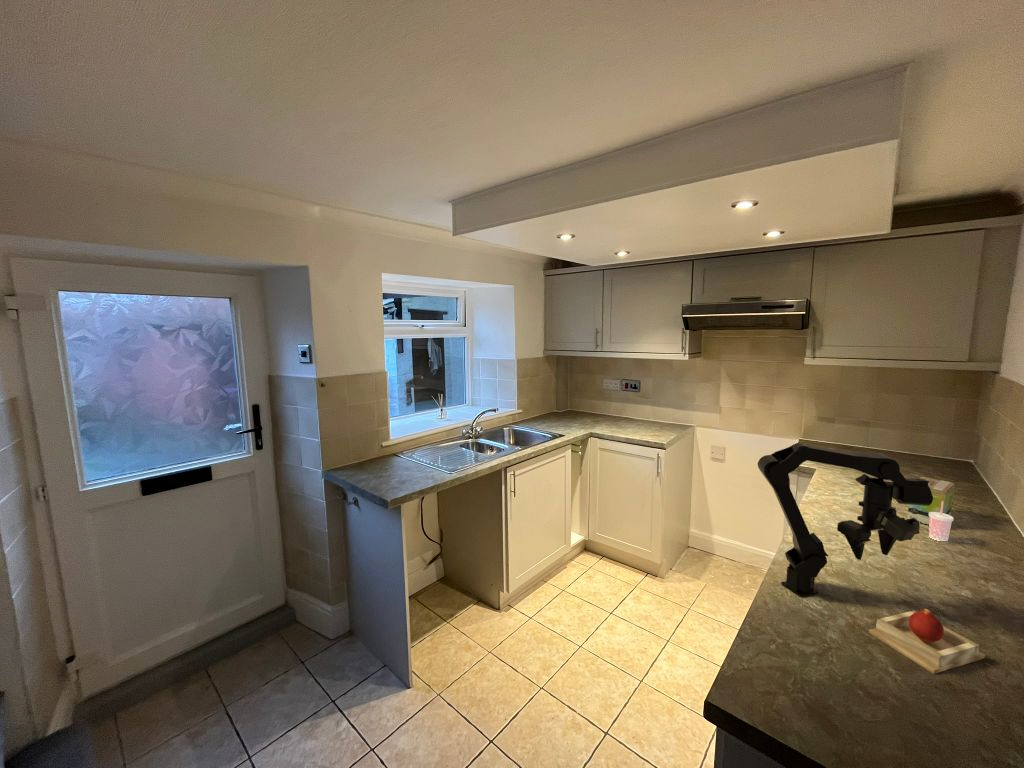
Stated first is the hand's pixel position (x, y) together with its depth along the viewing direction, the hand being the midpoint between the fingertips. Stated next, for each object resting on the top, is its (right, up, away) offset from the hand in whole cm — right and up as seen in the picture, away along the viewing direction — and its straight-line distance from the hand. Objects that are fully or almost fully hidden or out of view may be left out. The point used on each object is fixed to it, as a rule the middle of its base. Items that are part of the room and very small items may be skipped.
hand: (871, 556), depth 115 cm
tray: (-1, -14, -16) cm, 21 cm away
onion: (-1, -13, -16) cm, 21 cm away
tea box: (+63, -6, +49) cm, 80 cm away
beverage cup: (+51, -8, +33) cm, 61 cm away
